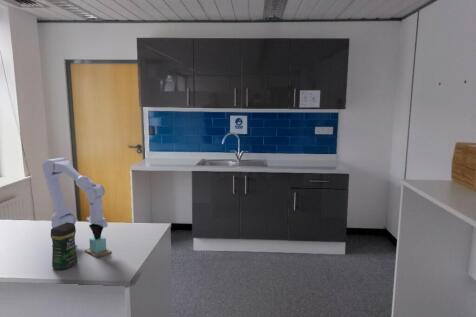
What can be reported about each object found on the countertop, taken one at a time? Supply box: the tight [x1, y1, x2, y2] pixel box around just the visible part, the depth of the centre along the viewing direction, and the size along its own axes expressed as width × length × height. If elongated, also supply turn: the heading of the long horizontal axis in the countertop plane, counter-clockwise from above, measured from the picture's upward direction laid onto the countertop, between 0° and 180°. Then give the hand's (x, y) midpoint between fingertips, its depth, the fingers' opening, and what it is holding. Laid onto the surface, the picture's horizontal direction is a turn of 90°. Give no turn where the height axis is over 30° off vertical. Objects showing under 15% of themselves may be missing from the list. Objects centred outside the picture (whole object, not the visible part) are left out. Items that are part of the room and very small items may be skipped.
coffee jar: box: [50, 222, 78, 271], centre depth 141 cm, size 10×8×19 cm
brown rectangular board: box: [84, 247, 112, 259], centre depth 155 cm, size 11×7×5 cm, turn 54°
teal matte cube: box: [89, 235, 107, 254], centre depth 155 cm, size 5×5×6 cm
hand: (97, 238), depth 155 cm, fingers closed, pressing on teal matte cube
